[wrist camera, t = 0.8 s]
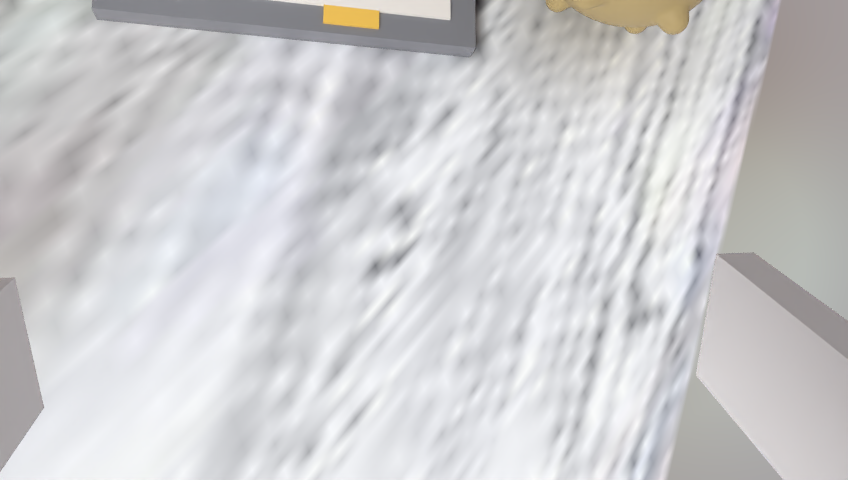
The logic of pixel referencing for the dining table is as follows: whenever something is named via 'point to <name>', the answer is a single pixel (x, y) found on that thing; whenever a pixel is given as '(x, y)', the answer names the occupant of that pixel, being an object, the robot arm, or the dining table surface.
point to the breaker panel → (316, 20)
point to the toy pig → (633, 12)
